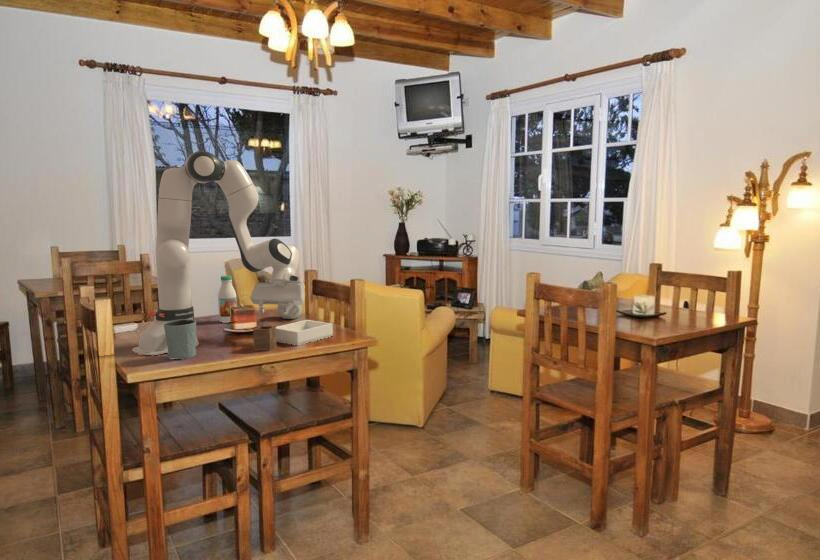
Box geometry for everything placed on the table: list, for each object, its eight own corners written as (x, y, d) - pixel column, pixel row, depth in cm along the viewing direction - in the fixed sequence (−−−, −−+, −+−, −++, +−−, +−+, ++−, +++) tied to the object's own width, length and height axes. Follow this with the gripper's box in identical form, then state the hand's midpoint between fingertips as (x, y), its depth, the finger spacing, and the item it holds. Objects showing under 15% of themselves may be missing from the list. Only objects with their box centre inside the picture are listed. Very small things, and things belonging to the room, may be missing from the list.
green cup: (201, 352, 207) (199, 318, 205) (192, 360, 197) (190, 325, 195) (172, 353, 206) (169, 319, 205) (161, 361, 196) (158, 325, 195)
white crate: (297, 345, 215) (297, 332, 215) (272, 340, 224) (271, 327, 223) (332, 336, 230) (332, 323, 229) (307, 331, 238) (307, 319, 237)
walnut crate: (270, 350, 209) (269, 329, 208) (254, 350, 210) (253, 329, 209) (276, 346, 215) (275, 326, 214) (260, 346, 216) (259, 325, 215)
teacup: (275, 317, 269) (275, 299, 268) (299, 314, 274) (298, 297, 273) (282, 322, 257) (282, 304, 256) (307, 320, 261) (306, 302, 260)
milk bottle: (215, 322, 259) (212, 276, 256) (228, 319, 265) (226, 274, 263) (228, 324, 255) (226, 277, 252) (241, 320, 262) (239, 275, 259)
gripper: (253, 277, 226) (243, 307, 218) (304, 277, 223) (297, 308, 215) (258, 287, 231) (249, 316, 223) (309, 287, 228) (301, 317, 220)
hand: (273, 312), depth 219 cm, fingers open, 8 cm apart
